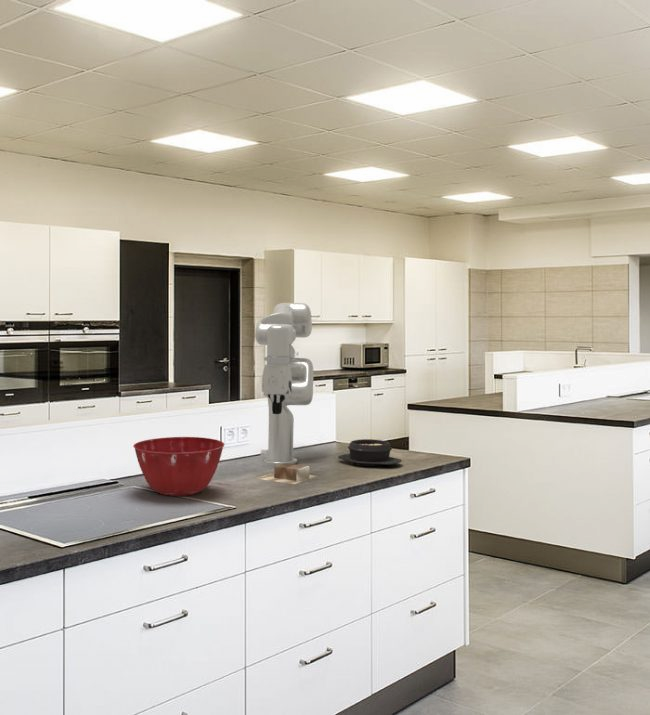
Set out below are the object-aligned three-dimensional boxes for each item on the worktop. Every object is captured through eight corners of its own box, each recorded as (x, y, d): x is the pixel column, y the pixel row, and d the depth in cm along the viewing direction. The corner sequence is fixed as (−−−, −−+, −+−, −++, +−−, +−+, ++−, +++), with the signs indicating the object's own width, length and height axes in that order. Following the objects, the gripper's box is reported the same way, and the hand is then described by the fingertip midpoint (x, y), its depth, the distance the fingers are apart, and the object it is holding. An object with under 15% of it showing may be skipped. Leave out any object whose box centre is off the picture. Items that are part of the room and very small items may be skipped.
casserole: (329, 464, 314) (329, 442, 313) (351, 456, 330) (352, 436, 329) (388, 471, 301) (389, 448, 301) (409, 463, 318) (409, 442, 317)
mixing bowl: (181, 506, 243) (181, 454, 242) (113, 493, 258) (113, 444, 257) (241, 490, 266) (242, 442, 265) (176, 478, 282) (176, 433, 281)
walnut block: (274, 466, 283) (299, 469, 278) (285, 463, 289) (309, 466, 284) (274, 477, 283) (298, 481, 278) (285, 474, 289) (309, 477, 284)
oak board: (254, 480, 282) (254, 478, 282) (279, 472, 295) (279, 470, 295) (294, 485, 274) (294, 484, 274) (318, 477, 288) (318, 476, 288)
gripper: (253, 360, 285) (253, 413, 286) (290, 362, 277) (289, 416, 279) (265, 359, 291) (265, 410, 293) (301, 361, 284) (300, 414, 285)
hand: (276, 413), depth 286 cm, fingers closed
